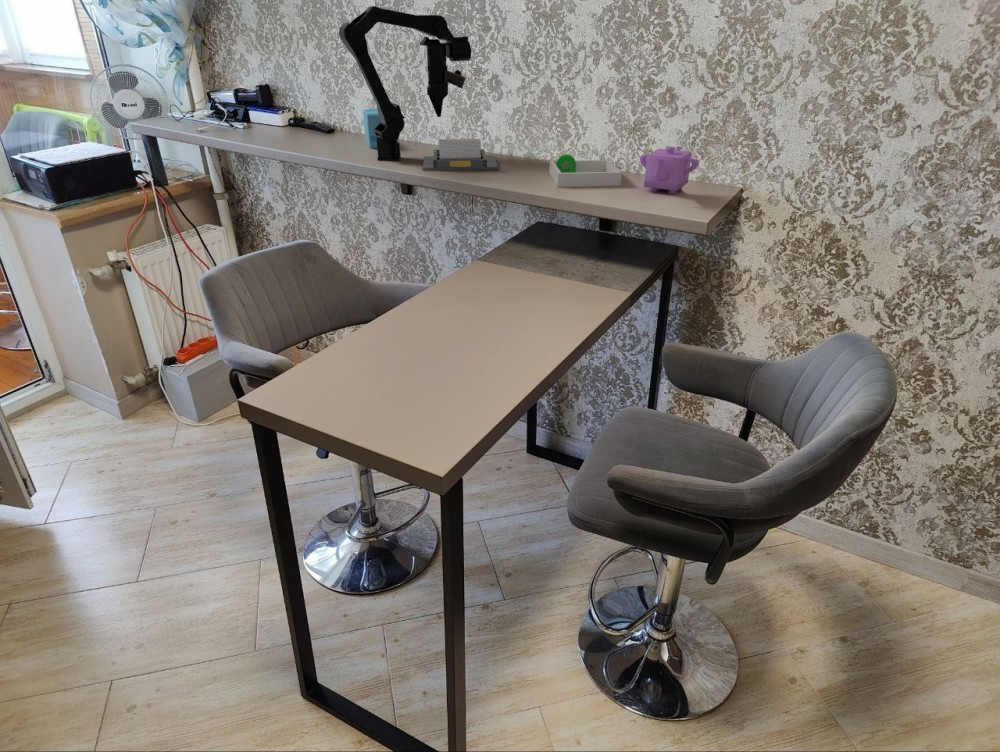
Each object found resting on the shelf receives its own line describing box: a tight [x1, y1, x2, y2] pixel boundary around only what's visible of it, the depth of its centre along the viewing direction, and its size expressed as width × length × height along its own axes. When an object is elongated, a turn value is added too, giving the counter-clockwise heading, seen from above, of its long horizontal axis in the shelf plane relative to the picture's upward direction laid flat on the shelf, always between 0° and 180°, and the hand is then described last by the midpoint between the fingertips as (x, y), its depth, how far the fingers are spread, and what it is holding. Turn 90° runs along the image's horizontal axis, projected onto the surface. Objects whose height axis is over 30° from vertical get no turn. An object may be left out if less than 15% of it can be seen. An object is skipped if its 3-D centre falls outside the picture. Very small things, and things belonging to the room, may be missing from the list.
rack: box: [421, 148, 499, 172], centre depth 208 cm, size 22×18×3 cm
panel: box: [438, 138, 482, 160], centre depth 202 cm, size 12×3×7 cm, turn 94°
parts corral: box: [548, 159, 623, 188], centre depth 190 cm, size 17×17×4 cm
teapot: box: [639, 145, 700, 195], centre depth 177 cm, size 15×13×11 cm
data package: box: [362, 108, 380, 150], centre depth 230 cm, size 12×4×12 cm, turn 17°
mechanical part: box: [556, 153, 576, 173], centre depth 197 cm, size 12×6×8 cm, turn 87°
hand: (439, 116), depth 214 cm, fingers closed
